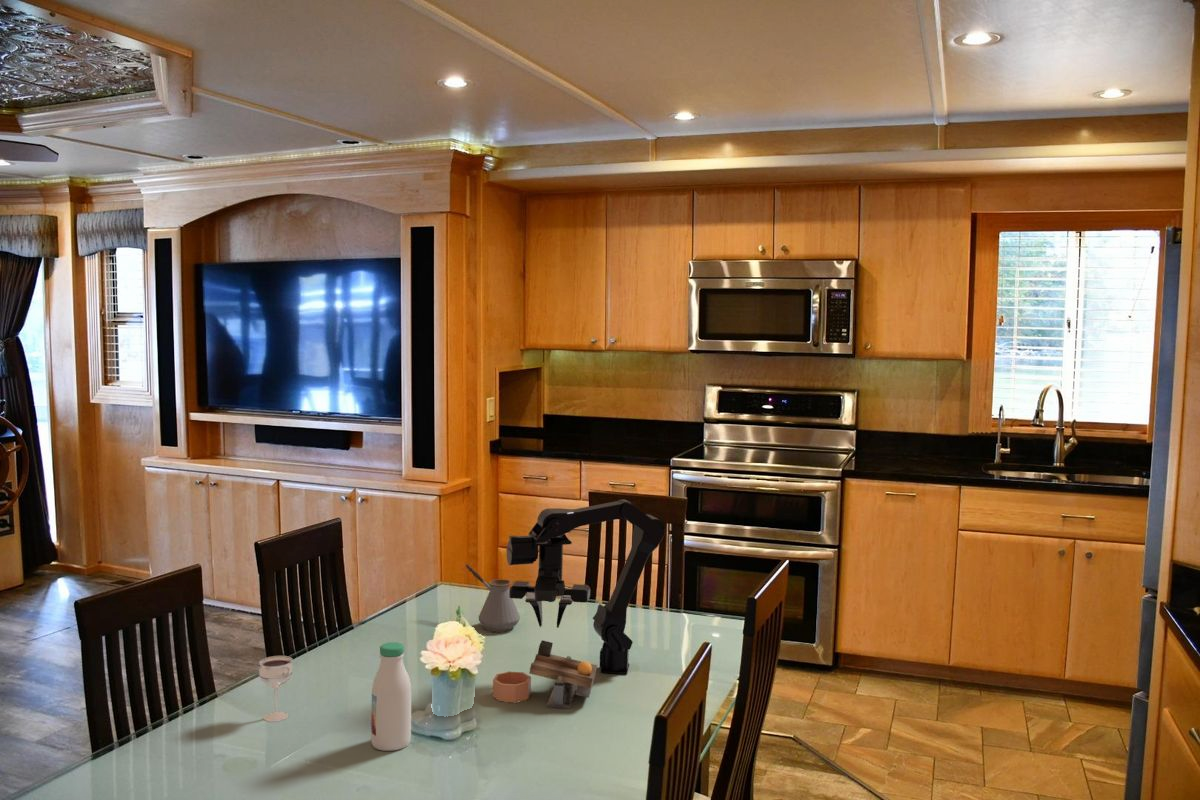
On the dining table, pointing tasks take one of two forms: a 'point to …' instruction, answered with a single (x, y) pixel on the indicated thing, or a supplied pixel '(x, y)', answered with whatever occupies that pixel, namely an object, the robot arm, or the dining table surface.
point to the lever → (561, 669)
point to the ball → (584, 668)
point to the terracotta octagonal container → (512, 686)
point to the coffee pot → (497, 605)
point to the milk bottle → (391, 701)
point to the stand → (562, 695)
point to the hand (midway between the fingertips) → (549, 626)
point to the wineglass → (275, 679)
